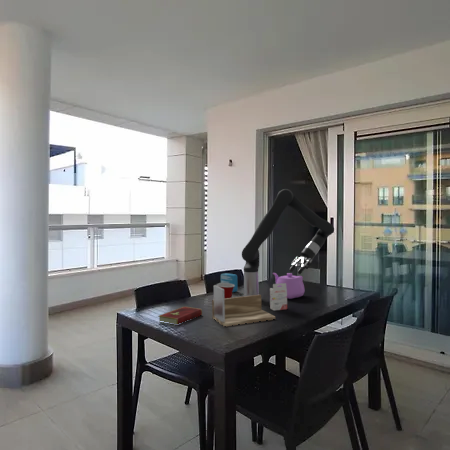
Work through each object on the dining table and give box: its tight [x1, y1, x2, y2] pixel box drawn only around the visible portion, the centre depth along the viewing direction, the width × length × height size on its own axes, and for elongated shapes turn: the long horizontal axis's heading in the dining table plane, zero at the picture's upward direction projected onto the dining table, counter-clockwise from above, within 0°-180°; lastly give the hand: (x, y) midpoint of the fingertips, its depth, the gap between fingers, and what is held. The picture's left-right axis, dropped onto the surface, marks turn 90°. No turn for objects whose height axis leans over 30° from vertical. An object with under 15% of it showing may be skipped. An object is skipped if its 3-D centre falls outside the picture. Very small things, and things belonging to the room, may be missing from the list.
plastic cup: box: [216, 282, 235, 299], centre depth 217 cm, size 11×11×12 cm
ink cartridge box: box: [269, 283, 288, 311], centre depth 203 cm, size 9×5×15 cm, turn 105°
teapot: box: [272, 272, 306, 300], centre depth 237 cm, size 23×21×15 cm
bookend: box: [213, 284, 225, 322], centre depth 180 cm, size 12×1×16 cm, turn 22°
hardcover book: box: [157, 306, 203, 324], centre depth 187 cm, size 12×21×4 cm, turn 149°
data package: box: [220, 273, 239, 293], centre depth 253 cm, size 12×4×12 cm, turn 48°
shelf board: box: [211, 294, 276, 327], centre depth 185 cm, size 16×28×10 cm, turn 112°
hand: (294, 272), depth 207 cm, fingers open, 8 cm apart
